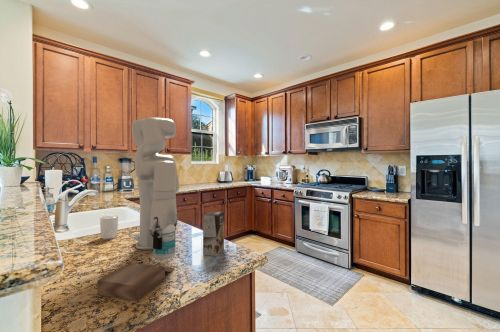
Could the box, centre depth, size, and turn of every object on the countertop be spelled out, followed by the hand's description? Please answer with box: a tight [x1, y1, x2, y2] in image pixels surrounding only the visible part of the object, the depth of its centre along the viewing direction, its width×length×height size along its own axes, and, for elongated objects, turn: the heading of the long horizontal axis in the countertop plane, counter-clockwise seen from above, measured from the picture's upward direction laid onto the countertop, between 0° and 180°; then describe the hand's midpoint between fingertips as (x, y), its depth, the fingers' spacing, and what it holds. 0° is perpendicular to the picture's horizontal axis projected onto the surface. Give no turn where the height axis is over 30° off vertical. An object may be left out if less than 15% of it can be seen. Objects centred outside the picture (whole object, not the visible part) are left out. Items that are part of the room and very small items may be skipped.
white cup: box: [99, 214, 119, 240], centre depth 118 cm, size 8×8×10 cm
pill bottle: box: [152, 220, 176, 261], centre depth 85 cm, size 8×7×14 cm
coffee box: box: [202, 210, 225, 257], centre depth 99 cm, size 9×6×16 cm
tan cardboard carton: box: [97, 262, 175, 302], centre depth 74 cm, size 13×20×5 cm, turn 166°
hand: (164, 244), depth 85 cm, fingers closed on pill bottle, 7 cm apart
